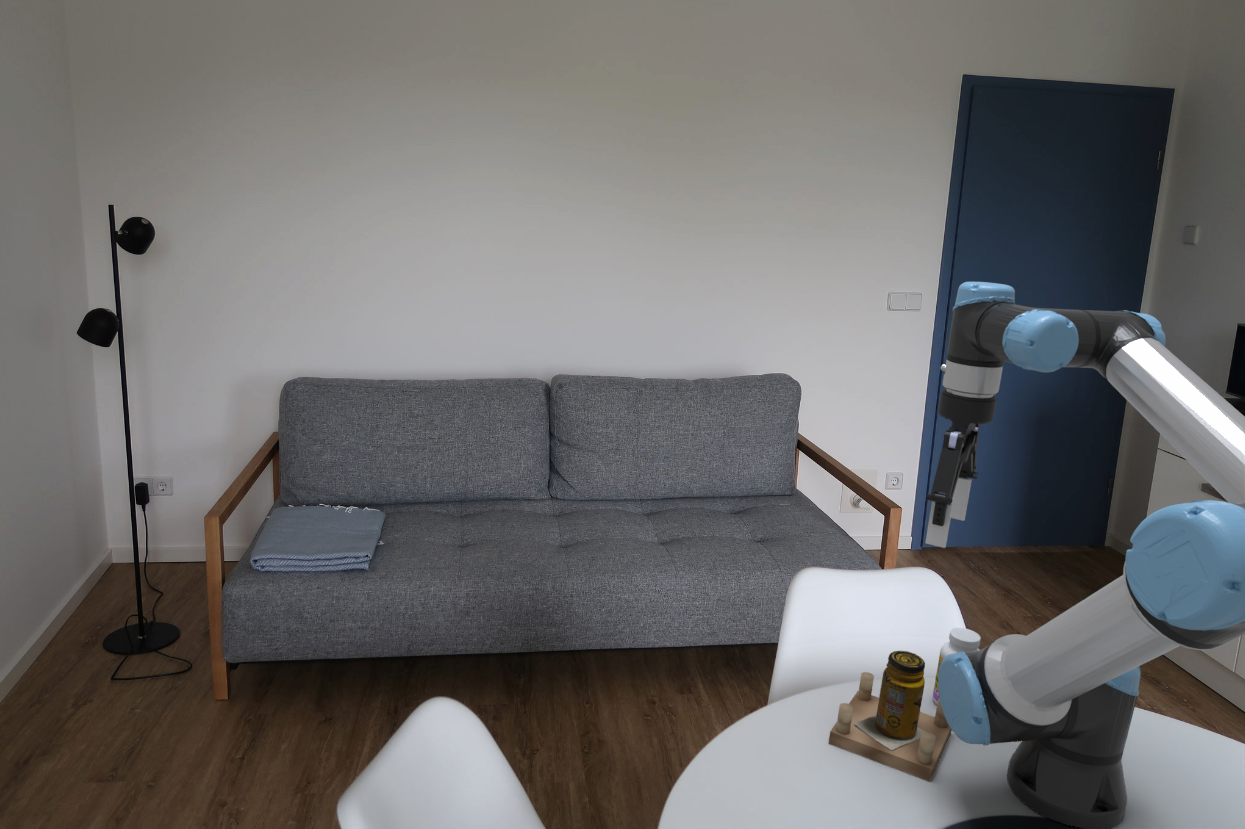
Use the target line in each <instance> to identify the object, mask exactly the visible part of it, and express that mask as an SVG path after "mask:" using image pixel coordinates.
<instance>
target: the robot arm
mask: <svg viewBox="0 0 1245 829" xmlns="http://www.w3.org/2000/svg"><path fill="white" fill-rule="evenodd" d="M1015 294H1016V290H1015V288H1014V287H1012V286H1011V285H1008V284H1005V283H1004V284H1003V283H996V282H987V281H965V282H963V283H961V284H960V285H959V287H958V289H957V294H956V298H955V302H954V303H955V304H954V306H953V307H952V318H951V324H950V332H949V338H948V345H947V346H948V347H947V351H946V353H947V354H946V360H945V364H941V366H940V370H941V371H943V372H944V374H943V379H942V386H943V387H944V389H942V390H941V391H940V395H939V402H938V408H937V412H938V413H937V414H938V415H939V416H940V417H942V418H943V419H946V420H950V421H951V426H950V427H949V429H947V430H946V431H945V432H944V433H943V442H942V448H941V451H940V454H939V460H938V463H937V468H936V471H935V475H934V480H933V483H932V487H931V493H930V494H929V493H927V494H926V501H930V502H931V505H930V512H929V518H928V524H927V530H926V537H925V543H924V544H926V545H927V544H928V545H930V546H931V545H932V546H936V547H939V548H942V549H946V547H947V543H948V536H949V530H950V525H951V519H954V520H959V521H963V522H964V521H965V520H966V514H967V508H968V504H969V497H970V492H971V487H972V480H973V479H974V480H977V479H978V475H979V472H978V471H975V470H976V469H977V455H978V454H977V453H978V446H979V445H978V442H979V436H980V435H979V433H980V427H981V426H980V425H986V424H990V423H992V422H993V420H994V416H995V411H996V406H997V400H998V399H997V398H996V396H995V395H996V394H997V393H999V390H1000V387H1001V386H1000V385H1001V381H1002V380H1001V379H1002V374H1003V368H1004V366H1003V365H1004V362H1007V363H1009V364H1013V365H1015V366H1017V367H1019V368H1020V367H1021V368H1022V369H1023V370H1026V371H1036V372H1040V373H1054V372H1055V371H1057V370H1060V369H1061V368H1083V369H1084V368H1085V369H1086V368H1087V369H1094V370H1096V371H1097V372H1098V373H1099V374H1100V375H1101V376H1102V377H1103V378H1104V379H1106V381H1107V382H1108V383H1110V385H1111V386H1112V387H1113V388H1114V389H1116V391H1117V392H1119V394H1120V395H1121V396H1122V397H1123V398H1125V400H1126V401H1127V402H1128V403H1129V404H1130V405H1131V406H1132V407H1133V408H1134V409H1135V410H1136V411H1137V412H1138V413H1140V415H1141V416H1142V417H1143V418H1144V419H1145V420H1146V421H1147V422H1148V423H1149V424H1150V425H1151V426H1152V427H1153V428H1154V429H1155V430H1156V431H1157V432H1158V433H1159V434H1160V435H1161V436H1162V437H1163V438H1164V439H1165V440H1166V441H1167V442H1168V443H1169V444H1170V445H1171V447H1173V449H1175V450H1176V451H1177V452H1178V453H1179V455H1181V456H1182V457H1183V458H1184V459H1185V460H1186V461H1187V462H1188V463H1189V465H1191V466H1192V467H1193V469H1195V471H1197V472H1198V473H1199V474H1200V475H1201V476H1202V478H1203V479H1205V480H1206V482H1208V484H1210V486H1212V487H1213V488H1214V489H1215V491H1217V492H1218V493H1219V494H1220V496H1222V497H1223V498H1224V500H1225V501H1219V500H1210V499H1209V500H1206V499H1205V500H1193V501H1191V502H1183V503H1177V504H1173V505H1167V506H1166V507H1162V508H1160V509H1158V510H1156V511H1154V512H1152V513H1151V514H1149V515H1148V516H1147V517H1146V518H1144V519H1143V520H1142V521H1141V522H1140V524H1138V526H1137V527H1136V529H1135V530H1134V531H1133V533H1132V535H1131V537H1130V540H1129V541H1130V543H1132V548H1129V549H1127V550H1126V551H1125V552H1126V553H1125V561H1124V564H1123V570H1122V572H1123V573H1122V575H1121V576H1119V577H1117V578H1116V579H1114V580H1113V581H1111V582H1110V583H1108V584H1106V585H1104V586H1103V587H1101V588H1100V589H1098V590H1097V591H1095V592H1094V593H1092V594H1090V595H1089V596H1087V597H1086V598H1085V599H1083V600H1081V601H1080V602H1077V603H1076V604H1075V605H1073V606H1072V607H1070V608H1068V609H1067V610H1066V611H1064V612H1062V613H1060V614H1059V615H1056V617H1054V618H1052V619H1051V620H1049V621H1048V622H1046V623H1045V624H1043V625H1042V626H1040V627H1038V628H1037V629H1035V630H1033V631H1032V632H1030V633H1029V634H1027V635H1024V634H1017V633H1014V634H1007V635H1006V634H1005V635H1004V636H1001V637H999V638H997V639H995V640H994V641H993V642H991V643H989V644H988V645H986V646H985V647H983V648H981V649H979V651H976V652H967V653H964V652H963V651H962V652H961V651H960V652H958V653H954V654H949V655H947V656H946V657H945V658H944V659H943V661H942V662H941V665H940V668H939V672H938V692H939V699H940V703H941V707H942V710H943V713H944V716H945V718H946V721H947V723H948V725H949V726H950V728H951V730H952V731H951V732H952V733H954V735H955V736H956V737H957V738H958V739H959V740H960V741H962V742H964V743H966V744H967V745H983V746H989V745H993V744H994V745H995V744H1005V743H1016V742H1020V743H1019V745H1017V748H1016V749H1015V751H1014V752H1013V753H1012V755H1011V757H1010V758H1009V761H1008V762H1009V763H1008V767H1007V771H1006V780H1007V783H1008V786H1009V787H1010V789H1011V791H1012V792H1013V793H1014V794H1015V796H1016V797H1017V798H1018V799H1019V800H1020V801H1021V802H1022V803H1023V804H1024V805H1026V806H1027V807H1029V808H1030V809H1032V810H1033V811H1035V812H1037V813H1038V814H1040V815H1041V816H1043V817H1046V818H1047V819H1050V820H1052V821H1054V822H1057V821H1058V822H1057V823H1059V822H1061V823H1060V824H1062V823H1063V824H1062V825H1065V824H1066V825H1065V826H1069V825H1070V826H1069V827H1072V826H1075V827H1074V828H1077V827H1079V828H1078V829H1110V828H1113V827H1116V826H1118V825H1119V824H1120V823H1121V822H1122V821H1123V819H1124V816H1125V813H1126V807H1127V804H1128V795H1127V789H1126V781H1125V777H1124V776H1125V775H1124V770H1123V769H1124V768H1123V763H1122V762H1123V761H1122V759H1123V754H1124V750H1125V746H1126V743H1127V738H1128V735H1129V732H1130V726H1131V724H1132V723H1131V722H1132V718H1133V715H1134V712H1135V708H1136V703H1137V699H1138V697H1139V695H1140V690H1139V688H1140V687H1139V686H1140V681H1141V674H1142V673H1141V668H1140V666H1142V665H1144V664H1146V663H1148V662H1150V661H1153V660H1154V659H1157V658H1159V657H1160V656H1162V655H1164V654H1167V653H1169V652H1171V651H1172V650H1174V649H1176V648H1178V647H1182V648H1185V649H1190V650H1193V651H1206V650H1207V651H1208V650H1212V649H1215V648H1218V647H1220V646H1223V645H1224V644H1226V643H1228V642H1230V641H1232V640H1235V639H1237V638H1239V637H1241V636H1243V635H1245V415H1243V414H1242V413H1241V412H1240V411H1239V410H1238V409H1236V408H1235V407H1234V406H1233V405H1232V404H1231V403H1229V401H1227V399H1225V398H1224V397H1223V396H1222V395H1220V394H1219V392H1218V391H1216V390H1215V389H1214V388H1213V387H1211V386H1210V385H1209V384H1208V383H1207V382H1206V381H1204V380H1203V379H1202V378H1201V377H1200V376H1199V375H1197V374H1196V372H1194V371H1193V370H1192V369H1191V368H1190V367H1188V366H1187V365H1186V364H1185V363H1184V362H1183V361H1182V360H1180V359H1179V358H1178V357H1177V356H1176V355H1174V354H1173V353H1172V352H1171V351H1170V350H1169V349H1168V348H1167V347H1165V346H1166V334H1165V332H1164V330H1163V327H1162V326H1163V325H1162V324H1161V322H1160V321H1159V320H1158V319H1157V318H1156V317H1154V316H1153V315H1150V314H1148V313H1141V312H1134V311H1129V310H1125V309H1124V310H1116V311H1114V310H1113V311H1112V310H1092V309H1091V310H1087V309H1085V310H1084V309H1067V308H1065V309H1064V308H1043V307H1030V306H1025V305H1021V304H1016V301H1015V299H1016V297H1015V296H1016V295H1015Z"/></svg>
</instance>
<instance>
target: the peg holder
mask: <svg viewBox="0 0 1245 829" xmlns="http://www.w3.org/2000/svg"><path fill="white" fill-rule="evenodd" d="M874 679H875V675H874V674H873V673H871V672H868V671H867V672H866V671H863V672H861V674H860V679H859V680H860V681H859V685H858V686H859V688H858V690H857V691H856V693H855V694H853V695H854V696H853V697H852V698H851V700H850V701H849V703H847V702H842V703H840V704H839V708H838V714H837V721H836V722H835V723H834V725H833V726H832V728H831V730H830V731H829V738H828V744H830V745H833V746H835V747H838V748H840V749H843V750H844V751H845V750H846V751H848V752H851V753H854V754H856V755H859V756H861V757H863V758H867V759H869V760H872V761H875V762H877V763H880V764H883V765H884V766H887V767H890V768H893V769H896V770H898V771H901V772H904V773H906V774H908V775H912V776H915V777H916V778H918V779H922V780H925V781H927V782H932V779H933V776H934V774H935V772H936V770H937V767H938V766H939V763H940V760H941V758H942V755H943V754H944V751H945V749H946V746H947V745H948V743H949V740H950V737H951V735H952V732H953V731H952V730H951V728H950V726H949V725H948V723H947V721H946V718H945V716H944V713H943V710H942V707H941V703H940V699H938V703H937V705H936V710H935V715H931V714H928V713H925V712H923V711H920V714H919V720H918V725H917V727H918V728H920V729H922V730H923V731H925V732H922V733H921V737H920V739H917V740H915V741H913V742H910V743H907V744H905V745H902V746H900V747H898V748H895V749H894V750H890V749H889V748H887V747H886V746H884V745H882V744H881V743H880V742H878V741H876V740H875V739H874V738H872V737H871V736H869V735H868V734H867V733H865V732H864V731H863V730H861V729H860V728H859V727H858V726H856V725H855V724H854V723H856V722H858V721H862V720H864V719H867V718H869V717H872V716H875V715H877V708H878V702H879V696H877V695H876V696H875V695H872V693H873V686H874ZM891 740H892V739H891Z"/></svg>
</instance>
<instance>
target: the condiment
mask: <svg viewBox="0 0 1245 829" xmlns="http://www.w3.org/2000/svg"><path fill="white" fill-rule="evenodd" d="M925 668H926V663H925V660H924V659H923V658H922V657H921V656H919V655H918V654H916V653H914V652H911V651H907V650H894V651H892V652H890V653H889V655H888V657H887V663H886V667H885V668H884V670H883V672H882V679H881V685H880V690H879V696H878V697H879V702H878V708H877V715H875V716H872V717H869V718H867V719H864V720H862V721H858V722H856V723H854V724H855V725H856V726H858V727H859V728H860V729H861V730H863V731H864V732H865V733H867V734H868V735H869V736H871V737H872V738H874V739H875V740H876V741H878V742H880V743H881V744H882V745H884V746H886V747H887V748H889V749H890V750H894V749H895V748H898V747H900V746H902V745H905V744H907V743H910V742H913V741H915V740H917V739H920V737H921V733H922V732H925V731H923V730H922V729H920V728H918V727H917V725H918V720H919V714H920V712H921V708H922V701H923V695H924V689H925V684H926V682H925V680H926V679H925V677H924V675H925ZM891 739H892V740H891Z"/></svg>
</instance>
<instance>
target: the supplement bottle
mask: <svg viewBox="0 0 1245 829" xmlns="http://www.w3.org/2000/svg"><path fill="white" fill-rule="evenodd" d="M948 639H949V641H946V642H945V643H944V644H942V646H941V647H940V650H939V656H938V663H937V668H936V674H935V681H934V686H933V691H932V692H933V693H932V701H933V703H934V704H935V706H937V703H938V699H939V692H938V672H939V668H940V665H941V662H942V661H943V659H944V658H945V657H946V656H947V655H949V654H954V653H958V652H960V651H961V652H962V651H963V652H964V653H967V652H976V651H979V650H980V649H979V647H980V645H981V639H982V637H981V636H980V634H979V633H978V632H976V631H974V630H972V629H969V628H964V627H954V628H952V629H951V630H950V631H949V635H948Z"/></svg>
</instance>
